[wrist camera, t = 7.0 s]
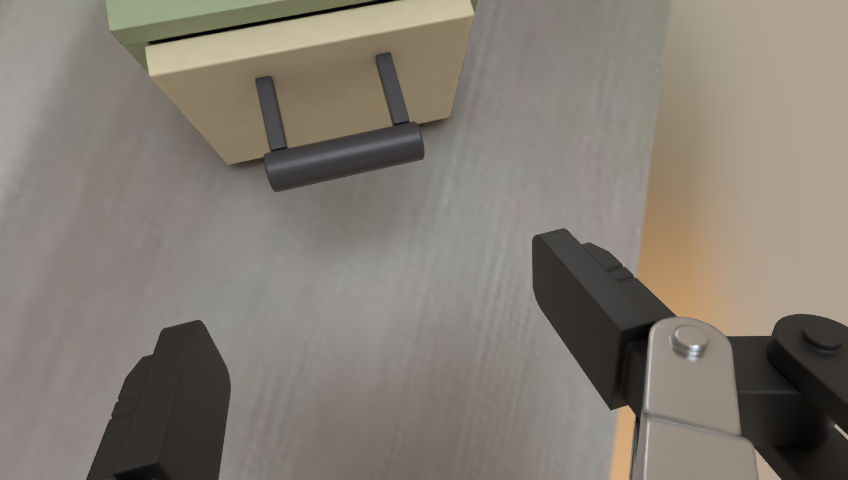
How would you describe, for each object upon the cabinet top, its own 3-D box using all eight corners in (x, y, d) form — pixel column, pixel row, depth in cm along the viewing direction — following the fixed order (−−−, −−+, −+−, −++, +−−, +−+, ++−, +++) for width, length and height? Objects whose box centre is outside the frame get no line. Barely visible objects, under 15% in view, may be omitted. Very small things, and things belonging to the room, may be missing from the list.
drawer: (473, 194, 24) (511, 121, 16) (243, 248, 22) (167, 196, 15) (383, -106, 28) (380, -278, 20) (182, -75, 26) (97, -247, 19)
